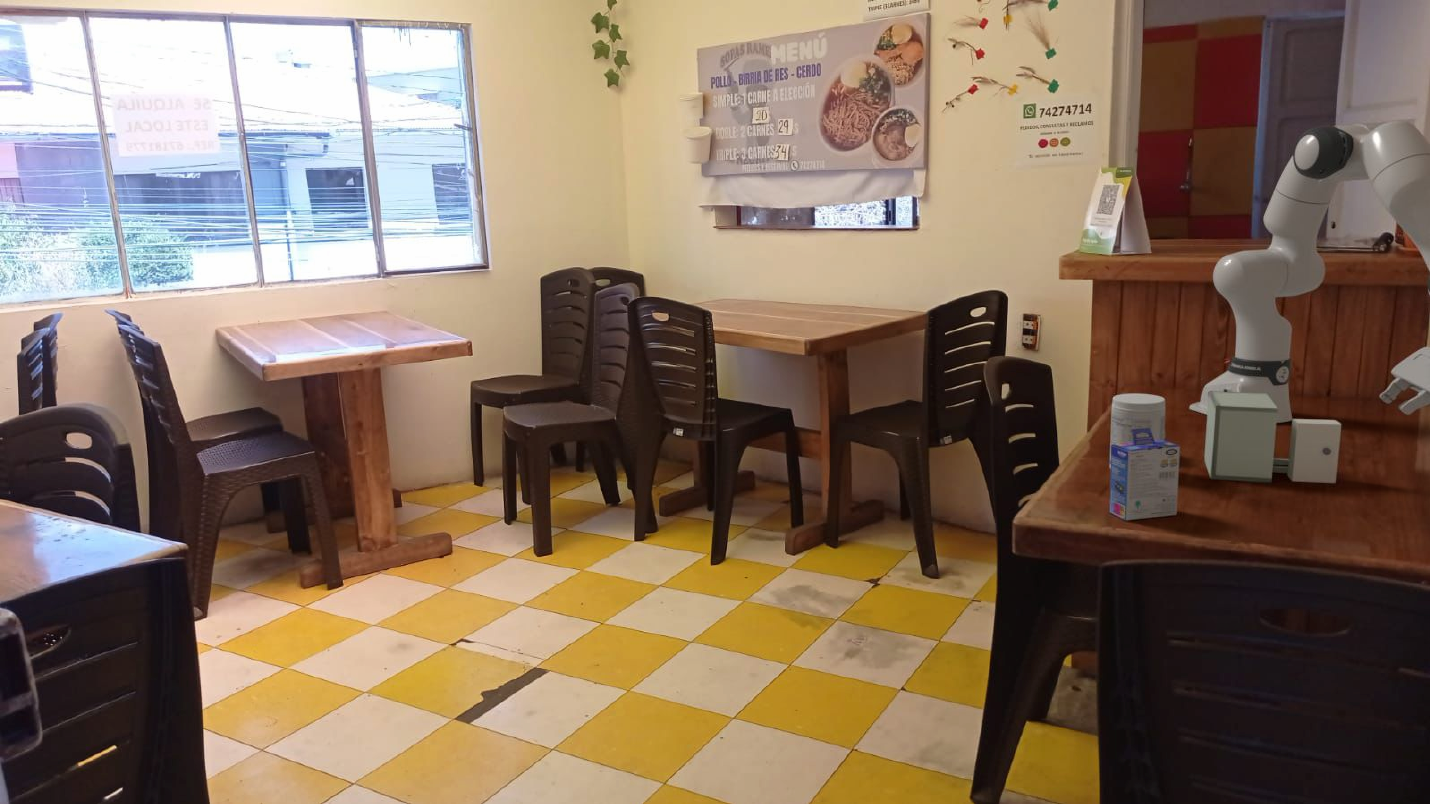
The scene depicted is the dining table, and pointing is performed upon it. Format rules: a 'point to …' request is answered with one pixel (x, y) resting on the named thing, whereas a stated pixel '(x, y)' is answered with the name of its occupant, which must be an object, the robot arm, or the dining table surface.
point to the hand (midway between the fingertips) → (1392, 405)
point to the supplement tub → (1136, 417)
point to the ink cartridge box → (1144, 477)
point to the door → (1314, 450)
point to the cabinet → (1241, 437)
